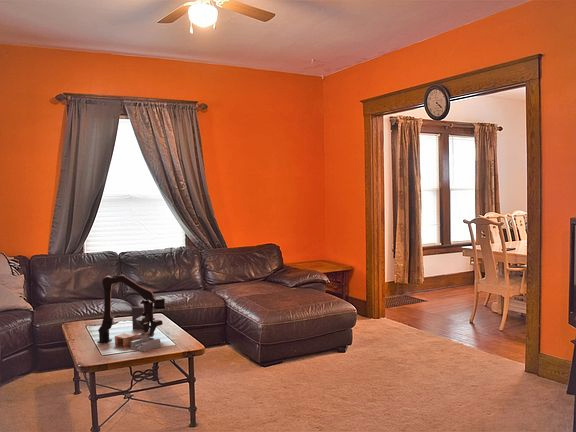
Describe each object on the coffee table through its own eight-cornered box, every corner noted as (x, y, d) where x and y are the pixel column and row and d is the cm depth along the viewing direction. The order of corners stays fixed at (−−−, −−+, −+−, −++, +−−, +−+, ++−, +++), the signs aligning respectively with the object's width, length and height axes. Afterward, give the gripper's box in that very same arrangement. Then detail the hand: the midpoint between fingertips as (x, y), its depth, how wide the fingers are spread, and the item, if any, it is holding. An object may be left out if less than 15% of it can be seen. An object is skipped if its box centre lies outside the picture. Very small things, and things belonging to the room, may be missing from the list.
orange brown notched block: (125, 348, 309) (125, 338, 309) (115, 346, 314) (114, 336, 314) (135, 345, 315) (134, 335, 315) (124, 343, 320) (124, 333, 320)
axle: (133, 343, 318) (133, 336, 318) (129, 342, 320) (129, 335, 320) (154, 337, 331) (154, 331, 331) (149, 336, 333) (149, 329, 333)
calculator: (150, 329, 354) (149, 306, 353) (146, 330, 349) (146, 308, 349) (135, 328, 357) (134, 306, 356) (132, 330, 352) (131, 307, 352)
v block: (144, 351, 302) (144, 344, 302) (131, 348, 308) (130, 341, 308) (160, 346, 312) (160, 339, 312) (147, 343, 318) (146, 336, 318)
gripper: (127, 311, 328) (128, 336, 329) (148, 314, 318) (149, 340, 318) (141, 308, 337) (142, 332, 338) (162, 311, 327) (163, 336, 328)
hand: (149, 335), depth 330 cm, fingers closed on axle, 4 cm apart
